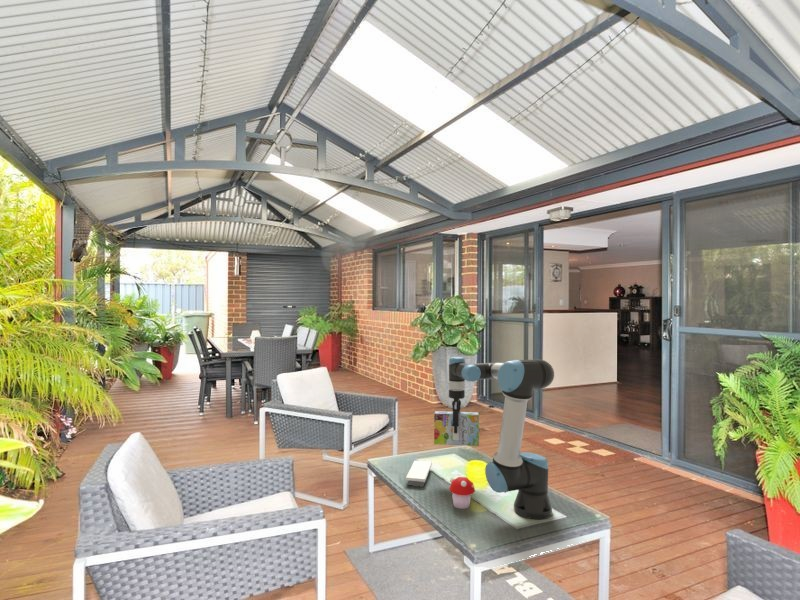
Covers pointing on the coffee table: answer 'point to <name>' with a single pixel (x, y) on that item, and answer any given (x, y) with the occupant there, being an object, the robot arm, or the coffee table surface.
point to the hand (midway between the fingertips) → (456, 437)
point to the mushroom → (461, 492)
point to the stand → (418, 473)
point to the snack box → (466, 428)
